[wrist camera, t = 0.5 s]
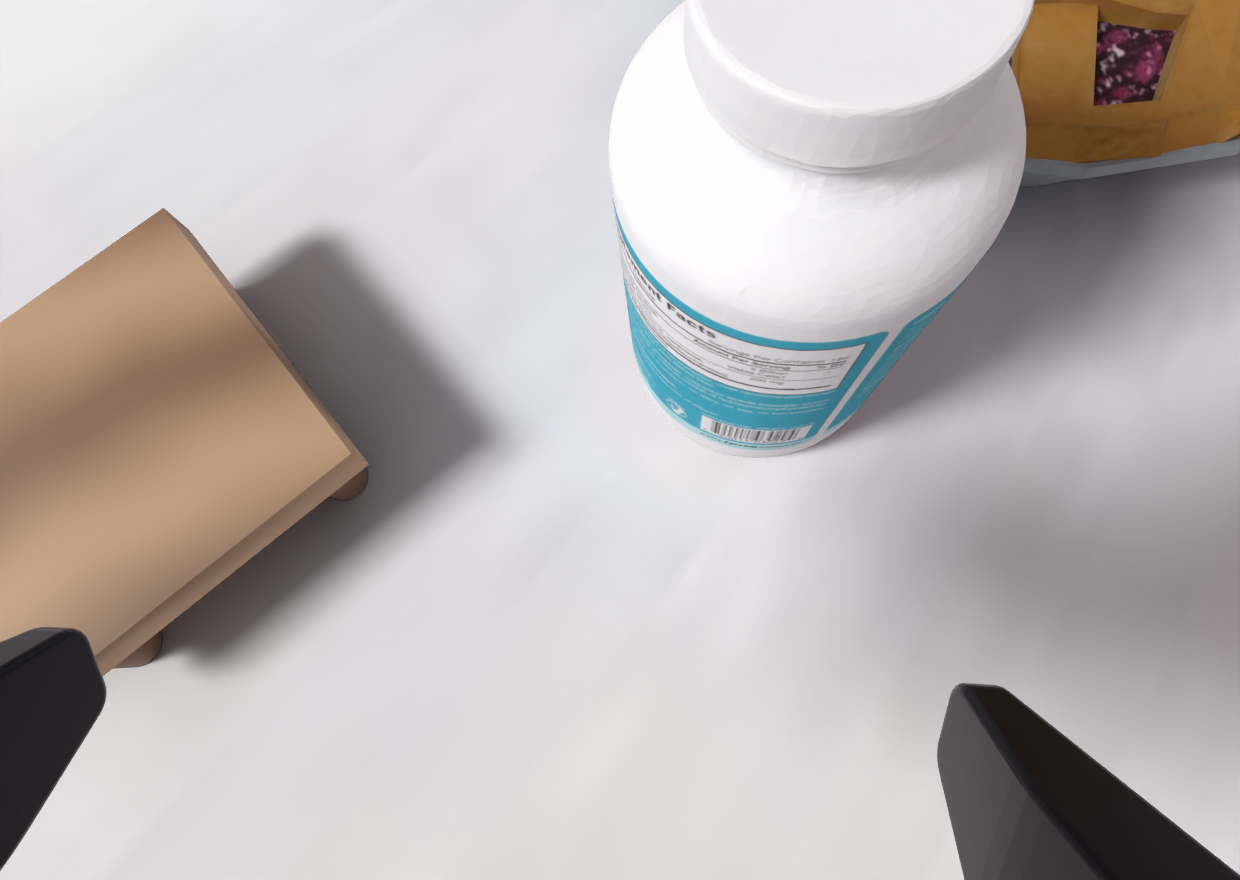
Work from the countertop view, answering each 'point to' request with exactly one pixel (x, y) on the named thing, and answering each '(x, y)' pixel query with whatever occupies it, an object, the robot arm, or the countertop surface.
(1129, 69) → the pie
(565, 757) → the countertop surface
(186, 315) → the square wooden stand
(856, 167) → the pill bottle
